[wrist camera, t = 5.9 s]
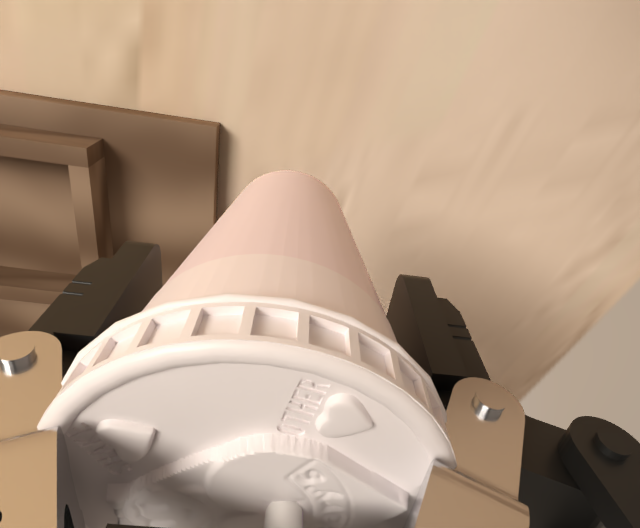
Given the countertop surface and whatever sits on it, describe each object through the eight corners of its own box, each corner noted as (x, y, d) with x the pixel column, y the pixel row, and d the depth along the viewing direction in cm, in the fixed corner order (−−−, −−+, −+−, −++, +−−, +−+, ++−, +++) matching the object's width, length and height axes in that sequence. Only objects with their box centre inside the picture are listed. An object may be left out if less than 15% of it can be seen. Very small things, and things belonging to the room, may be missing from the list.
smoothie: (379, 297, 16) (539, 1097, 4) (209, 302, 17) (-81, 1095, 5) (387, 122, 13) (1069, 1375, 1) (174, 130, 13) (-1181, 1348, 1)
